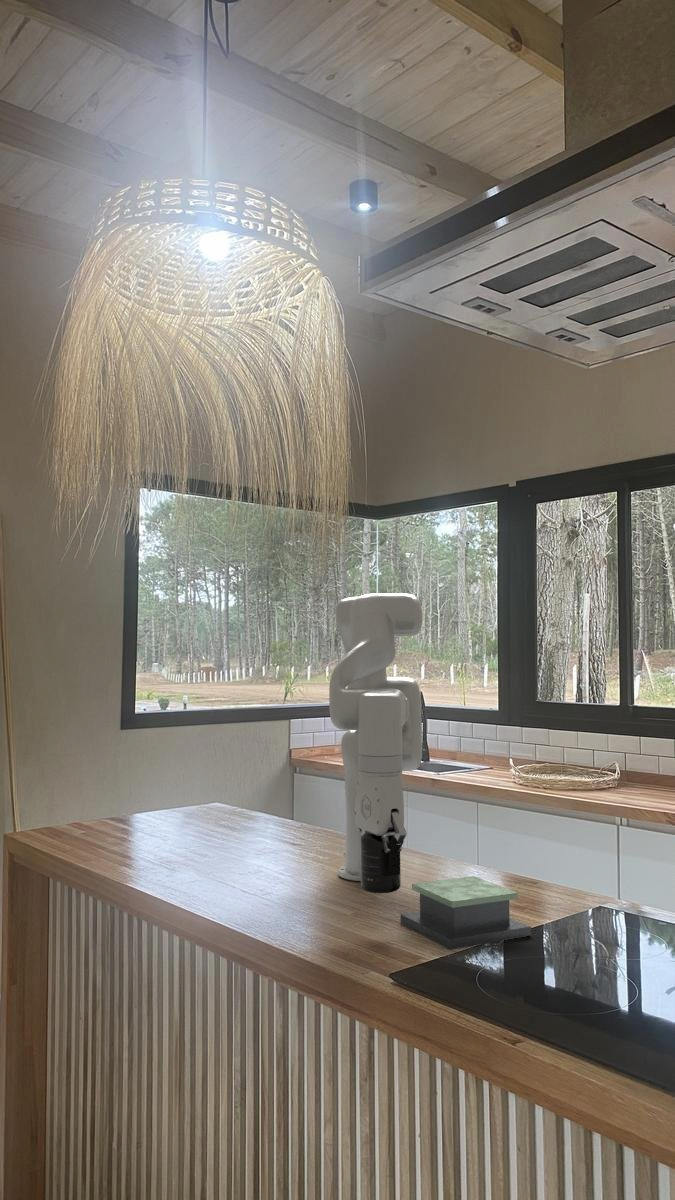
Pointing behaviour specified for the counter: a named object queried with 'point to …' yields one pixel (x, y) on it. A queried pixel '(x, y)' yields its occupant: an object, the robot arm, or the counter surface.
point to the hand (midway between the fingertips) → (380, 869)
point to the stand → (464, 912)
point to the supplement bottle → (375, 866)
